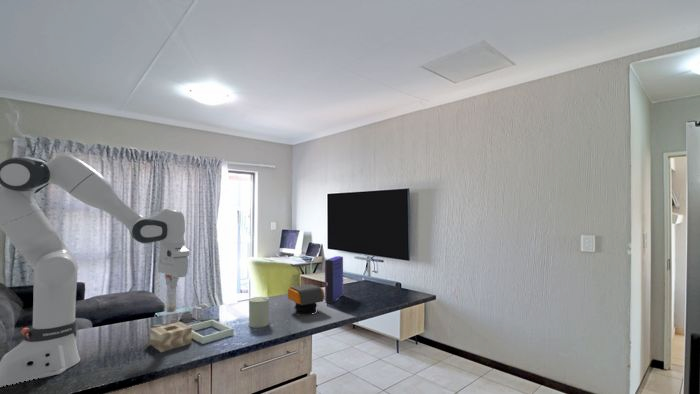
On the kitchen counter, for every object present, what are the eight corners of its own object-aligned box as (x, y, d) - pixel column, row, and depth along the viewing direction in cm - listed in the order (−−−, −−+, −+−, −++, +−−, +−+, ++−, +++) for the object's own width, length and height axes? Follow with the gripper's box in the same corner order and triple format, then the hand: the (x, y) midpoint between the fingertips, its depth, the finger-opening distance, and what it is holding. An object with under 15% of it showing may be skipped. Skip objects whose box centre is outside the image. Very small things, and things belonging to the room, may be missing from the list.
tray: (202, 346, 131) (202, 337, 132) (183, 335, 143) (183, 327, 144) (233, 336, 141) (233, 328, 141) (212, 327, 153) (212, 319, 153)
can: (266, 327, 152) (266, 300, 153) (246, 327, 152) (246, 300, 153) (271, 321, 161) (271, 295, 162) (251, 321, 161) (252, 295, 162)
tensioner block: (160, 354, 124) (161, 335, 124) (150, 347, 131) (150, 328, 132) (191, 345, 132) (191, 327, 132) (179, 338, 140) (180, 321, 140)
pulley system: (154, 325, 160) (153, 333, 147) (154, 314, 161) (154, 321, 148) (215, 317, 173) (220, 324, 160) (216, 308, 174) (220, 314, 161)
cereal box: (336, 295, 210) (335, 256, 211) (343, 295, 209) (342, 256, 210) (325, 302, 194) (324, 260, 195) (332, 302, 192) (332, 260, 193)
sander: (303, 302, 194) (303, 279, 195) (325, 312, 173) (325, 287, 174) (279, 306, 186) (279, 283, 186) (299, 318, 165) (299, 291, 166)
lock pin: (168, 312, 130) (169, 276, 131) (165, 311, 132) (165, 275, 133) (176, 311, 132) (177, 274, 133) (173, 309, 134) (174, 273, 135)
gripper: (153, 249, 138) (152, 283, 137) (174, 253, 124) (173, 291, 124) (170, 248, 143) (169, 281, 142) (191, 251, 129) (190, 288, 128)
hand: (171, 286), depth 133 cm, fingers closed on lock pin, 3 cm apart
